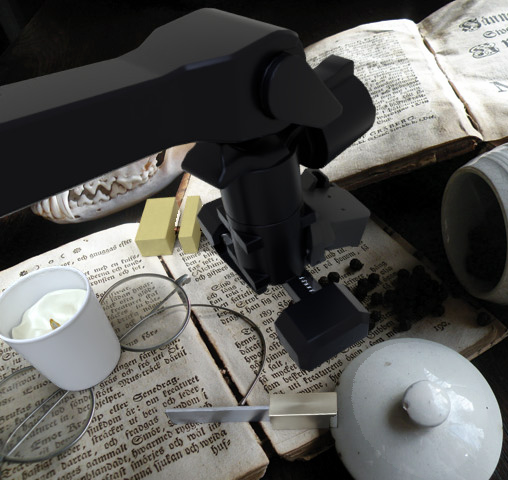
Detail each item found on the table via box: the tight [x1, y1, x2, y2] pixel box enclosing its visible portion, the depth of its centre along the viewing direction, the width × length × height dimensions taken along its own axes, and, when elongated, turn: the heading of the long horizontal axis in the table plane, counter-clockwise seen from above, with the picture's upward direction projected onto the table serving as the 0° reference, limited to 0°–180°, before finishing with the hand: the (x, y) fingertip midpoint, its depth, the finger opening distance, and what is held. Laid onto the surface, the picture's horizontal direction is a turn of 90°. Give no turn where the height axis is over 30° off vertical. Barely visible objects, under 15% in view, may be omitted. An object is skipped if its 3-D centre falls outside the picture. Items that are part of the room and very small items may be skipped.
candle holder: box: [0, 265, 122, 392], centre depth 53 cm, size 10×10×12 cm
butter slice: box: [177, 194, 204, 255], centre depth 71 cm, size 2×9×4 cm, turn 3°
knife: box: [164, 391, 338, 431], centre depth 50 cm, size 18×2×4 cm, turn 91°
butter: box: [134, 196, 180, 258], centre depth 71 cm, size 4×9×4 cm, turn 3°
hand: (284, 323), depth 45 cm, fingers open, 9 cm apart
